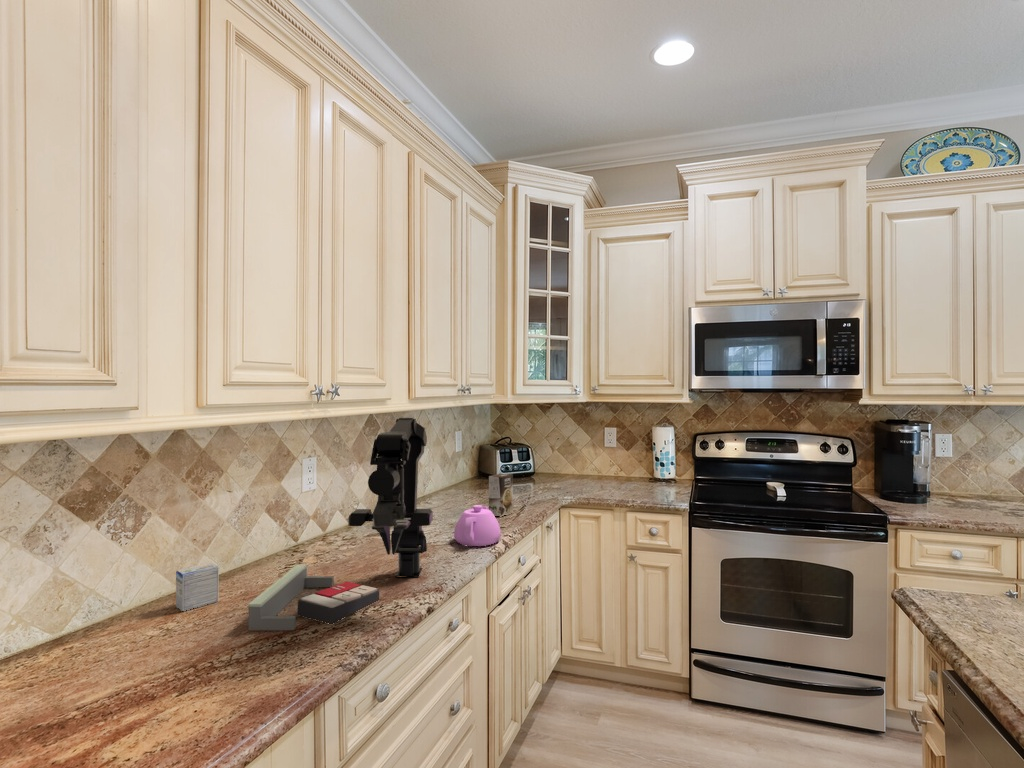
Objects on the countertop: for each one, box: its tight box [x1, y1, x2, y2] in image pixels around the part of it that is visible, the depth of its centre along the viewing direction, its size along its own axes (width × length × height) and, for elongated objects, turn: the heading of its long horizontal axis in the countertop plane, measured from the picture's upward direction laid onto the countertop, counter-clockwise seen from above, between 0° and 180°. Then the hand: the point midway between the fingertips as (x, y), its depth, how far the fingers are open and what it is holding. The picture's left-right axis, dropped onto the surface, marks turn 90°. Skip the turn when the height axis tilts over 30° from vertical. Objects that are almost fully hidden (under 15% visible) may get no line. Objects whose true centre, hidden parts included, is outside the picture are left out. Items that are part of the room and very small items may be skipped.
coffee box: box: [488, 473, 514, 516], centre depth 221 cm, size 9×6×16 cm
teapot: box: [453, 504, 502, 547], centre depth 182 cm, size 22×16×12 cm
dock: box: [247, 564, 335, 631], centre depth 128 cm, size 26×10×6 cm, turn 0°
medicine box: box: [175, 562, 220, 612], centre depth 129 cm, size 8×4×9 cm, turn 141°
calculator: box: [296, 581, 380, 625], centre depth 127 cm, size 11×4×15 cm
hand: (391, 554), depth 128 cm, fingers closed
